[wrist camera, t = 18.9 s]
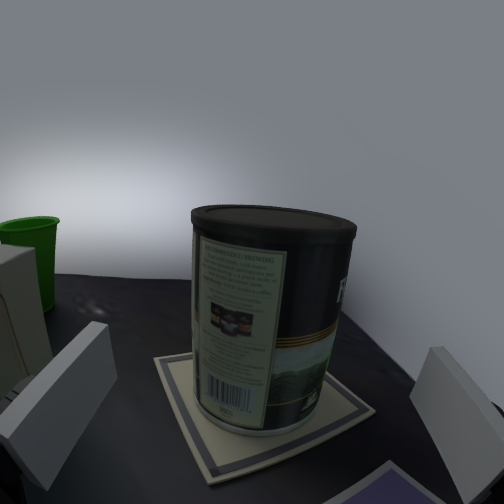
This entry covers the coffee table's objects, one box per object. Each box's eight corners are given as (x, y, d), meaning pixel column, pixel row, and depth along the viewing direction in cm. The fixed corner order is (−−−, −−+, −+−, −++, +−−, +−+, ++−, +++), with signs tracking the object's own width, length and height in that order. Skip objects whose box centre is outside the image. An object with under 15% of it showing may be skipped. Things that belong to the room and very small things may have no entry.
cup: (77, 295, 35) (70, 216, 32) (50, 326, 26) (36, 230, 24) (28, 290, 34) (20, 216, 31) (-3, 316, 25) (-18, 229, 22)
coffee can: (308, 358, 27) (333, 211, 23) (329, 437, 17) (385, 237, 13) (202, 351, 27) (206, 200, 23) (179, 429, 17) (170, 218, 13)
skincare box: (-9, 403, 13) (-57, 257, 10) (14, 374, 18) (-19, 240, 14) (47, 427, 14) (-6, 265, 11) (68, 391, 18) (36, 244, 15)
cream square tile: (153, 360, 25) (153, 357, 25) (282, 336, 31) (283, 333, 31) (208, 485, 13) (208, 482, 13) (374, 413, 19) (376, 410, 19)
